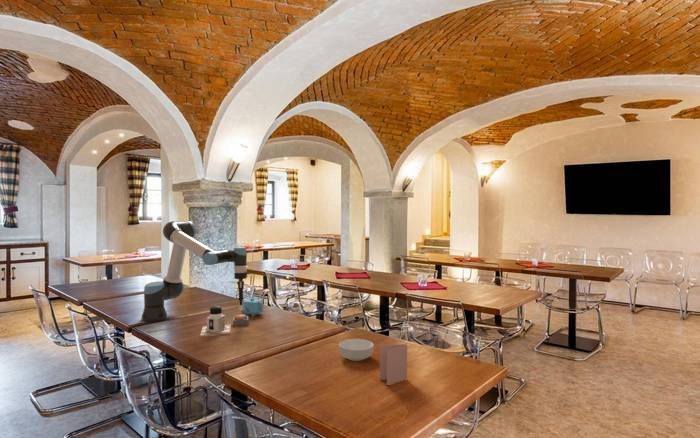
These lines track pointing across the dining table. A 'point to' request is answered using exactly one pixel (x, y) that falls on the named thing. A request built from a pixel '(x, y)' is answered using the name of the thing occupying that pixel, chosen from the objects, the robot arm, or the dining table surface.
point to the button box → (240, 322)
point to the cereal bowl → (356, 349)
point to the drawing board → (215, 333)
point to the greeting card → (393, 363)
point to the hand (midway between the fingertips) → (241, 309)
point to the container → (215, 319)
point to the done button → (240, 317)
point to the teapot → (252, 306)
